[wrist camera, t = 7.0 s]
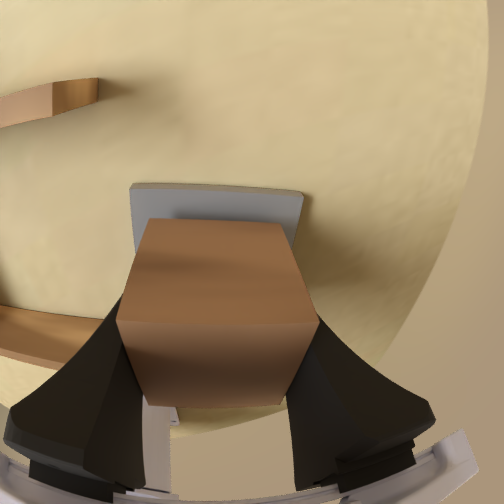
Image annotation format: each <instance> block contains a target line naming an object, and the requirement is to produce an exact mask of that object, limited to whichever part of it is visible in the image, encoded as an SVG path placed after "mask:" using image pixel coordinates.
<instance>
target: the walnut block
mask: <svg viewBox="0 0 504 504" xmlns="http://www.w3.org/2000/svg"><path fill="white" fill-rule="evenodd" d="M116 323H117V326H118V329H119V332H120V335H121V338H122V341H123V344H124V346H125V349H126V352H127V355H128V357H129V360H130V363H131V365H132V368H133V370H134V373H135V375H136V378H137V380H138V383H139V385H140V387H141V390H142V392H143V394H144V397H145V399H146V401H147V403H148V405H149V406H162V407H181V408H236V407H255V406H269V405H280V404H281V402H282V400H283V398H284V396H285V394H286V392H287V390H288V388H289V386H290V384H291V383H292V381H293V379H294V377H295V374H296V372H297V370H298V368H299V366H300V364H301V362H302V360H303V358H304V356H305V354H306V352H307V349H308V347H309V345H310V343H311V341H312V339H313V336H314V334H315V332H316V330H317V327H318V325H319V323H320V321H319V319H318V316H317V313H316V311H315V308H314V306H313V303H312V301H311V298H310V295H309V293H308V290H307V288H306V285H305V283H304V280H303V278H302V275H301V273H300V270H299V268H298V265H297V263H296V260H295V258H294V256H293V253H292V251H291V248H290V246H289V243H288V241H287V239H286V236H285V234H284V231H283V229H282V227H281V224H280V223H266V222H246V221H224V220H199V219H166V218H149V220H148V223H147V225H146V228H145V230H144V233H143V236H142V239H141V241H140V244H139V247H138V250H137V253H136V255H135V258H134V261H133V264H132V267H131V270H130V273H129V276H128V280H127V283H126V286H125V289H124V293H123V296H122V299H121V303H120V306H119V310H118V313H117V317H116Z"/></svg>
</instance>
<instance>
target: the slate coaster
mask: <svg viewBox="0 0 504 504" xmlns="http://www.w3.org/2000/svg"><path fill="white" fill-rule="evenodd" d="M129 191H130V205H131V217H132V227H133V236H134V245H135V253H137V250H138V247H139V244H140V241H141V239H142V236H143V233H144V230H145V228H146V225H147V223H148V220H149V218H166V219H199V220H224V221H246V222H266V223H280V224H281V227H282V229H283V231H284V234H285V236H286V239H287V241H288V243H289V246H290V248H291V250H292V246H293V242H294V238H295V234H296V230H297V225H298V221H299V217H300V213H301V208H302V204H303V199H304V197H303V195H302V194H301V192H299V191H289V190H278V189H266V188H252V187H238V186H220V185H198V184H162V183H133V184H132V186H131V187H130V189H129Z"/></svg>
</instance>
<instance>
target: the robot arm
mask: <svg viewBox="0 0 504 504" xmlns="http://www.w3.org/2000/svg"><path fill="white" fill-rule="evenodd" d="M122 296H123V294H122ZM122 296H121V297H120V298H119V300H118V301H117V303H116V304H115V305H114V307H113V308H112V310H111V311H110V312H109V314H108V315H107V316H106V318H105V319H104V320H103V322H102V323H101V324H100V325H99V327H98V328H97V329H96V330H95V332H94V333H93V334H92V335H91V337H90V338H89V339H88V340H87V341H86V343H85V344H84V345H83V346H82V347H81V348H80V349H79V350H78V351H77V353H76V354H75V355H74V356H73V357H72V358H71V359H70V360H69V361H68V362H67V363H66V364H65V365H64V366H63V367H62V368H61V369H60V370H59V371H58V372H56V373H55V374H54V375H53V376H52V377H51V378H50V379H48V380H47V381H46V382H45V383H44V384H42V385H41V386H40V387H39V388H38V389H36V390H35V391H34V392H32V393H31V394H30V395H28V396H27V397H25V398H24V399H22V400H21V401H20V402H18V403H17V404H15V405H14V406H12V407H11V408H10V411H9V415H8V419H7V423H6V428H5V433H4V438H3V440H4V442H5V444H6V445H8V446H9V447H11V448H12V449H14V450H15V451H17V452H19V453H20V454H22V455H24V456H26V457H27V458H29V459H30V467H29V466H27V465H24V464H21V463H20V462H18V461H15V460H13V459H11V458H9V457H8V456H7V455H5V454H3V453H2V452H0V504H320V503H324V502H328V501H332V500H335V499H339V498H342V497H343V498H342V499H341V501H340V503H339V504H439V503H440V502H442V501H443V500H444V499H445V498H446V497H448V496H449V495H450V494H451V493H453V492H454V491H455V490H456V489H457V488H459V487H460V486H461V485H462V484H464V483H465V482H466V481H467V480H469V479H470V478H471V477H472V476H474V475H475V474H476V473H477V472H478V471H479V469H478V466H477V463H476V460H475V458H474V455H473V452H472V450H471V447H470V444H469V442H468V440H467V437H466V435H465V432H464V430H463V428H461V429H459V430H457V431H456V432H454V433H452V434H450V435H449V436H447V437H445V438H443V439H442V440H440V441H439V442H437V443H435V444H434V445H433V446H431V447H429V448H427V449H425V450H424V451H421V452H419V453H418V454H415V455H413V452H412V448H414V447H415V444H414V441H413V439H414V438H416V437H417V436H418V435H420V434H421V433H423V432H424V431H426V430H427V429H428V428H430V427H431V426H432V425H433V424H434V423H435V421H436V419H435V416H434V414H433V412H432V410H431V407H430V405H429V403H428V401H427V400H425V399H423V398H421V397H419V396H417V395H415V394H413V393H412V392H410V391H408V390H406V389H404V388H402V387H401V386H399V385H397V384H396V383H394V382H392V381H391V380H389V379H388V378H386V377H385V376H383V375H382V374H381V373H379V372H378V371H376V370H375V369H374V368H372V367H371V366H370V365H368V364H367V363H366V362H365V361H364V360H362V359H361V358H360V357H359V356H358V355H357V354H355V353H354V352H353V351H352V350H351V349H350V348H349V347H348V346H347V345H345V344H344V343H343V342H342V341H341V340H340V339H339V338H338V336H337V335H336V334H335V333H334V332H333V331H332V330H331V329H330V328H329V327H328V326H327V325H326V323H325V322H324V321H323V320H322V319H321V318H320V317H319V315H318V314H317V316H318V319H319V321H320V323H319V325H318V327H317V330H316V332H315V334H314V336H313V339H312V341H311V343H310V345H309V347H308V349H307V352H306V354H305V356H304V358H303V360H302V362H301V364H300V366H299V368H298V370H297V372H296V374H295V377H294V379H293V381H292V383H291V384H290V386H289V388H288V390H287V392H286V394H285V395H286V401H287V407H288V414H289V422H290V430H291V437H292V449H293V461H294V480H295V487H296V491H302V490H307V489H312V488H316V487H320V486H321V488H317V489H312V490H307V491H303V492H297V493H292V494H286V495H281V496H274V497H265V498H257V499H246V500H231V501H181V500H179V495H177V494H169V493H171V471H170V426H178V425H180V421H179V418H178V414H177V410H176V407H162V406H149V405H148V403H147V401H146V399H145V397H144V394H143V392H142V390H141V387H140V385H139V383H138V380H137V378H136V375H135V373H134V370H133V368H132V365H131V363H130V360H129V357H128V355H127V352H126V349H125V346H124V344H123V341H122V338H121V335H120V332H119V329H118V326H117V323H116V317H117V313H118V310H119V306H120V303H121V299H122Z"/></svg>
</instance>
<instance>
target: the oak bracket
mask: <svg viewBox="0 0 504 504" xmlns="http://www.w3.org/2000/svg"><path fill="white" fill-rule="evenodd" d="M97 99H98V78H88V79H77V80H68V81H60V82H53V83H49V84H44V85H40V86H37V87H33V88H29V89H26V90H22V91H19V92H16V93H13V94H9V95H6V96H3V97H1V98H0V128H2V127H6V126H10V125H14V124H18V123H22V122H27V121H31V120H36V119H41V118H46V117H52V116H55V115H58V114H60V113H63V112H66V111H69V110H72V109H75V108H78V107H82V106H85V105H88V104H92V103H95V102H97ZM102 322H103V320H101V319H92V318H82V317H74V316H66V315H58V314H51V313H44V312H37V311H31V310H25V309H19V308H13V307H8V306H3V305H0V355H1V356H5V357H8V358H11V359H15V360H18V361H22V362H25V363H29V364H33V365H37V366H41V367H45V368H50V369H54V370H60V369H61V368H62V367H63V366H64V365H65V364H66V363H67V362H68V361H69V360H70V359H71V358H72V357H73V356H74V355H75V354H76V353H77V351H78V350H79V349H80V348H81V347H82V346H83V345H84V344H85V343H86V341H87V340H88V339H89V338H90V337H91V335H92V334H93V333H94V332H95V330H96V329H97V328H98V327H99V325H100V324H101V323H102Z"/></svg>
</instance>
